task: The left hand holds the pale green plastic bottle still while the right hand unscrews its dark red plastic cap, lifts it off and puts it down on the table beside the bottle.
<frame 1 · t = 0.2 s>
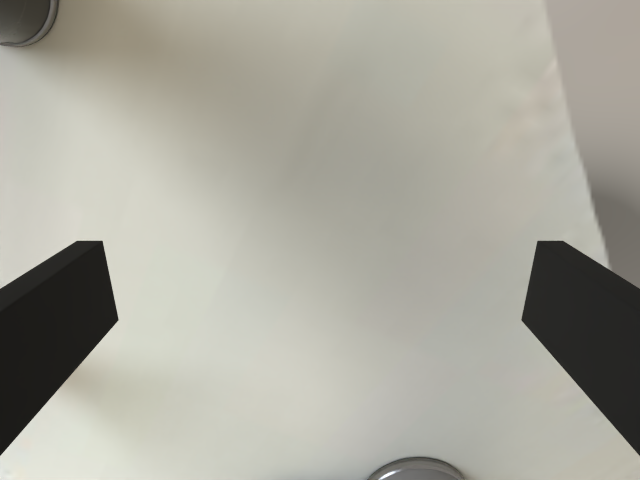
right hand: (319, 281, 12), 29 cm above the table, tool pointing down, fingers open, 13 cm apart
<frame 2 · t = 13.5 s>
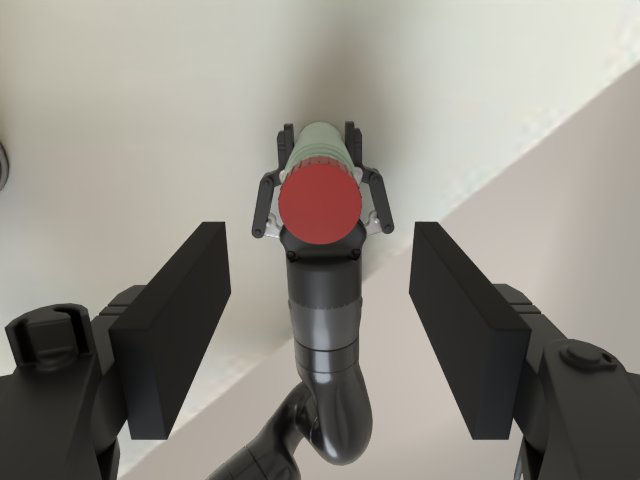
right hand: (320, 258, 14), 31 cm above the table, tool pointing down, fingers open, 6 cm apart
left hand: (319, 124, 36), fingers closed on bottle, 4 cm apart
bottle: (320, 144, 43), on the table, touching left hand
cap: (320, 204, 21), point 24 cm above the table, screwed on, not yet turned
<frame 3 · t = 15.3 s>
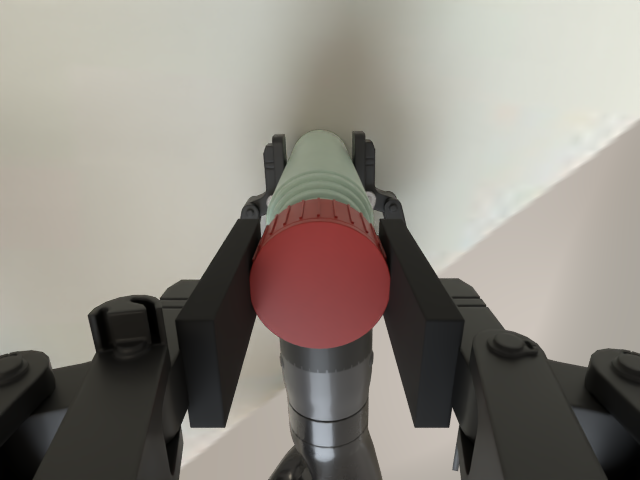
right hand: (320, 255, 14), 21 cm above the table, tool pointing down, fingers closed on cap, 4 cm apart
bottle: (319, 158, 34), on the table, touching left hand
cap: (319, 284, 12), point 24 cm above the table, screwed on, not yet turned, touching right hand
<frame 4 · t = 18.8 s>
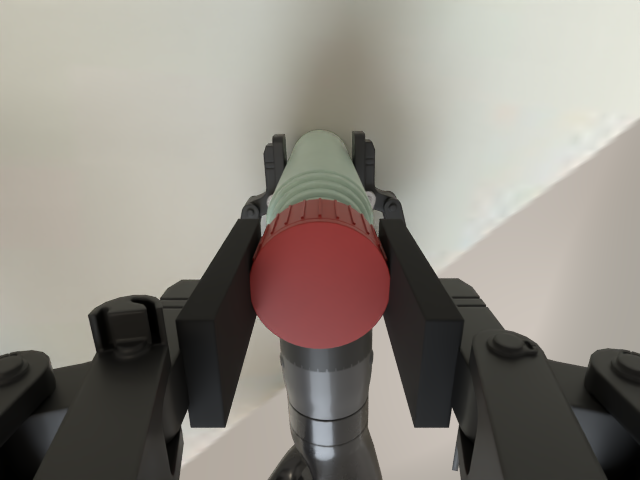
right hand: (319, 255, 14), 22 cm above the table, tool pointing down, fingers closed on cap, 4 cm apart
bottle: (319, 158, 35), on the table, touching left hand
cap: (319, 284, 12), point 24 cm above the table, turned 123° so far, risen 0.1 cm, still on its thread, touching right hand
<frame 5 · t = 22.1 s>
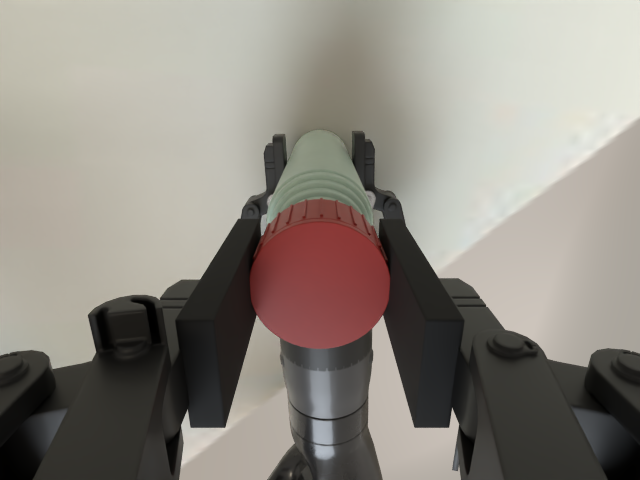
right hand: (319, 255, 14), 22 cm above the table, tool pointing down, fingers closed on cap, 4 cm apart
bottle: (319, 158, 35), on the table, touching left hand
cap: (319, 284, 12), point 24 cm above the table, turned 247° so far, risen 0.2 cm, still on its thread, touching right hand
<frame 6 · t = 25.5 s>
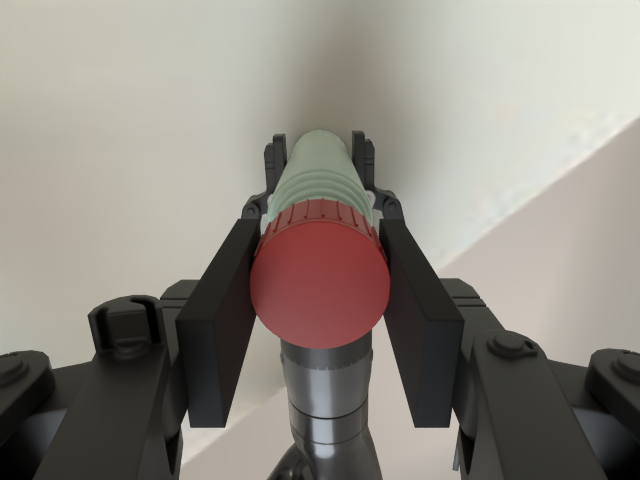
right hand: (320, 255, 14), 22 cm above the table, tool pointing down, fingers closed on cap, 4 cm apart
bottle: (319, 157, 35), on the table, touching left hand
cap: (319, 284, 12), point 24 cm above the table, turned 370° so far, risen 0.3 cm, still on its thread, touching right hand
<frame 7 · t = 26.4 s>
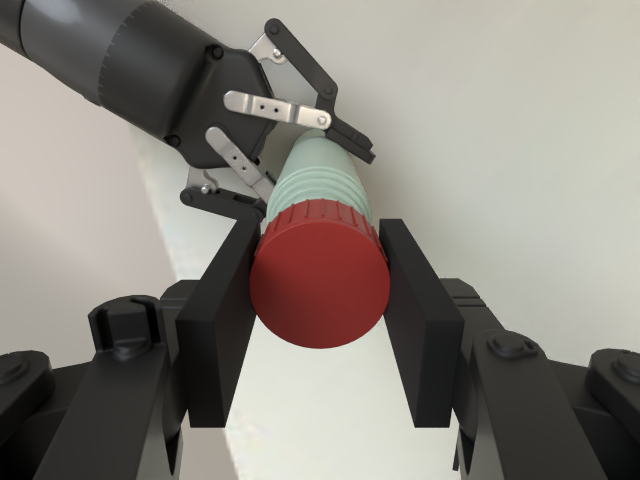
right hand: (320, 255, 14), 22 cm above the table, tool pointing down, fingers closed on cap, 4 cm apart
left hand: (349, 190, 29), fingers closed on bottle, 4 cm apart
bottle: (319, 156, 35), on the table, touching left hand
cap: (319, 284, 12), point 24 cm above the table, off its thread, touching right hand
when the right hand's fingers open (2 cm above the table, at t = 32.1 s): cap drops 2 cm, point 2 cm above the table.
when the left hand's fingers open (7 cm above the table, at t = 33.4 s): bottle stays where it is, on the table.
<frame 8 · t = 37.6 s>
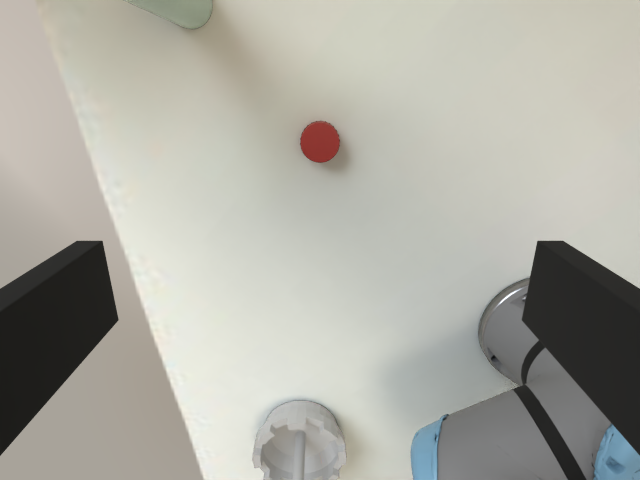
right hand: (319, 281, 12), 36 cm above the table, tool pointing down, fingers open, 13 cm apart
bottle: (189, 3, 41), on the table
flag stand: (301, 428, 61), on the table
cap: (320, 142, 44), point 2 cm above the table, off its thread
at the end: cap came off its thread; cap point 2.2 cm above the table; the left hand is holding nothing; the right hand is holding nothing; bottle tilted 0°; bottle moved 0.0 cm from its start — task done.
